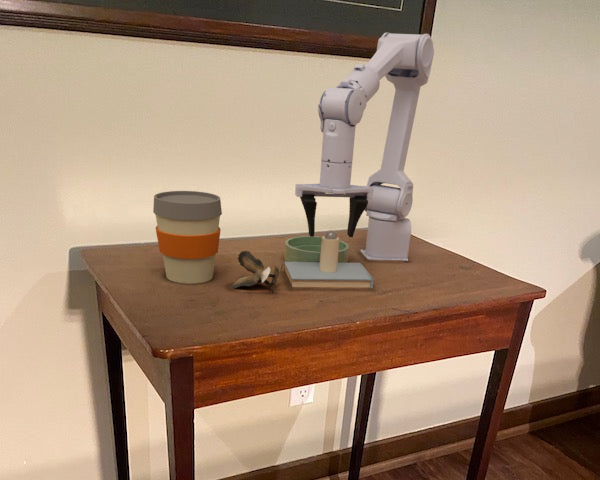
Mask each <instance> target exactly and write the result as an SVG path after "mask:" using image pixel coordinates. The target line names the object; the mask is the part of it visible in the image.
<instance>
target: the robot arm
mask: <svg viewBox="0 0 600 480" xmlns="http://www.w3.org/2000/svg"><path fill="white" fill-rule="evenodd" d="M434 49H435V48H434V41H433V39H432V37H431V35H430V34H429V33H423V34H418V33H417V34H416V33H415V34H414V33H391V32H384V33H383V34H382V35H381V37H379V38H378V41H377V46H376V51H375V53H374V54H373V56H372V57H371V58H370V59H369V61H368V62H367V63H366V64H365V63H357V64H355V65H354V67H353V69H352V70H351V71H350V72H349V73H348V75H346V77H345V78H343V79H342V80H341V82H339V84H337V86H336V87H333V86H329V87H328V88H327V89H326V90H324V91H323V92H322V93H321V95H320V98H319V102H318V105H317V113H318V117H319V121H320V132H321V133H322V143H321V159H320V171H319V173H320V174H319V183H296V184H295V188H294V189H295V190H294V191H295V193H294V195H295V197H297V198H300V201H301V204H302V207H303V209H304V213H305V216H306V221H307V222H306V223H307V228H308V236H311V237H314V236H315V231H316V230H315V229H316V221H315V220H316V213H317V212H316V211H317V206H318V202H317V201H316V199H317V198H316V197H318V198H319V197H321V198H324V197H325V198H349V213H348V223H347V229H346V230H347V231H346V232H347V234H346V235H347V236H348V237H349V238H354V235H355V232H356V228H357V225H358V223H359V220H360V219H361V217H362V215H363V213H364V212H366V214H365V215H366V217H368V224H367V232H366V239H365V240H366V241H365V248H364V249H359V251H360V253H361V254H362V255H363V257H365V258H366V259H367V260H369V261H403V262H409V252H410V244H411V239H412V222H411V220H410V218H407V217H408V216H409V214H410V212H411V210H412V207H413V201H414V198H413V193H414V183H413V182H412V180H411V179H410V178H409V177H408V175H407V174H406V173H405V166H406V161H407V156H408V151H409V146H410V141H411V137H412V131H413V126H414V123H415V117H416V112H417V107H418V102H419V97H420V92H421V87H423V86H424V85H426V84H428V83H429V77H430V74H431V71H432V66H433V59H434V56H435V50H434ZM383 78H385V79H386V81H388V82H389V83H391V84H393V86H394V96H393V102H392V106H391V113H390V117H389V123H388V128H387V133H386V138H385V144H384V148H383V154H382V158H381V159H382V160H381V164H380V169H378V170H377V171H375V172H374V173H372V174H370V176H368V180H367V184H366V185H357V184H356V185H355V184H352V183H351V181H352V170H353V159H354V149H355V139H356V138H355V137H356V128H357V125H358V124H359V123H361V120H362V118H363V116H364V111H365V110H366V107H367V103H369V101H370V100H371V99H373V97H374V96H375V95H376V94H377V93H378V91H379V89H380V87H381V86H380V84H381V80H382V79H383ZM383 184H386V185H383ZM387 184H388V185H387ZM390 185H395V186H390ZM396 186H397V187H396Z"/></svg>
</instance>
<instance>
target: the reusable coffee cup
mask: <svg viewBox="0 0 600 480" xmlns="http://www.w3.org/2000/svg"><path fill="white" fill-rule="evenodd" d="M222 210H223V209H222V203H221V197H220V196H219V195H217V194H214V193H211V192H206V191H197V190H195V191H194V190H169V191H162V192H158V193H156V194H155V195H153V209H152V212H153V214H154V215H155V219H156V226H155V234H156V237H157V238H156V239H157V245H158V250H159V252H160V254H161V255H162V260H163V265H164V271H165V276H166V279H167V280H169V281H171V282H172V283H178V284H186V285H187V284H189V285H191V284H193V285H194V284H203V283H206V282H209V281H211V280H212V279H213V277H214V269H215V261H216V255H217V254H218V253H219V245H220V237H221V227H220V219H221V216H222V214H223V211H222Z"/></svg>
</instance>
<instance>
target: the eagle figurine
mask: <svg viewBox="0 0 600 480" xmlns="http://www.w3.org/2000/svg"><path fill="white" fill-rule="evenodd" d="M237 260H238V263H239V265H240V266H241V267H243V268H244V269H245V270H246V271H247V272H250V273H251V274H253V275H248V276H242V277H240V278H238V279H237V280H236V281H235V282H234V283H232V284H231V288H232V289H238V288H241V287H252V286H255V285H261V284H265V285H267V286H269V287H270V291H271V292H272V293H275V286H276V283H277V281H278V277H279V276H280V274H281V271H282V270H283V267H284V263H281V265H280V266H279V267H278V266H277V265H275V266H274V269H273V273H271V267H270V266H267V267H266V268H265V264H264V263H263V262H262V260H261V259H260V258H256V257H255V256H254V255H253V254H252V253H251V251H249V250H242V251H240V252H239V254H238V257H237ZM268 278H272V279H271V282H270V281H269V280H268Z"/></svg>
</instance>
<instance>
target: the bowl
mask: <svg viewBox="0 0 600 480" xmlns="http://www.w3.org/2000/svg"><path fill="white" fill-rule="evenodd" d="M321 239H322V236H318V235H314V237H311V236H310V235H301V236H293V237H289V238H287V239H286V240H285V241H284V243H283V245H284V246H283V259H284V262H320V253H321ZM349 252H350V245H349V244H348V243H347V242H345V241H343V240H341V239H340V241H339V252H338V263H349V255H350V253H349Z"/></svg>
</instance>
